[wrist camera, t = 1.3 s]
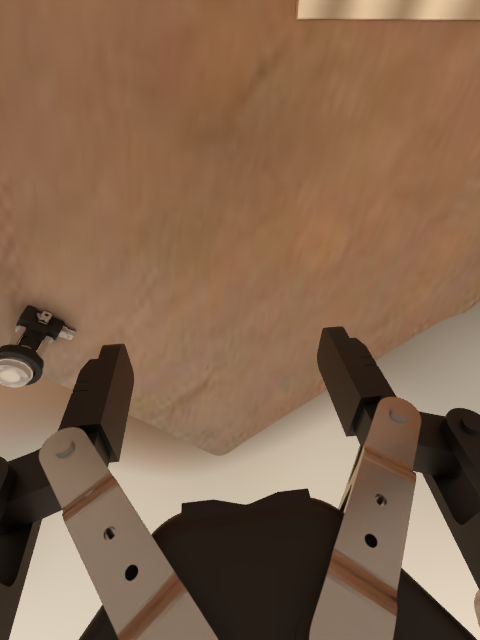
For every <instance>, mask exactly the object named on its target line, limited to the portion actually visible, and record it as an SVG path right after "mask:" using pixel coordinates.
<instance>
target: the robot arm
mask: <svg viewBox="0 0 480 640" xmlns="http://www.w3.org/2000/svg"><path fill="white" fill-rule="evenodd" d="M317 362H318V367H319V370H320V372H321V375H322V377H323V380H324V382H325V385H326V387H327V390H328V392H329V394H330V397H331V400H332V402H333V404H334V407H335V410H336V412H337V415H338V417H339V419H340V422H341V424H342V427H343V429H344V432H345V434H346V436H357V438H358V441H359V443H360V447H359V450H358V453H357V456H356V459H355V462H354V465H353V468H352V471H351V474H350V477H349V480H348V483H347V486H346V489H345V492H344V494H343V497H342V499H341V502H340V505H339V508H338V509H337V508H336V507H334V506H332V505H330V504H328V503H326V502H324V501H321V500H318V499H315V498H310V494H309V491H308V489H300V490H291V491H283V492H277V493H275V494H272V495H270V496H267V497H265V498H263V499H260V500H258V501H255V502H253V503H251V504H247V505H243V504H237V503H231V502H225V501H218V500H207V501H198V502H189V503H182V512H181V513H180V514H177V515H175V516H174V517H172V518H170V519H168V520H167V521H166V522H164V523H163V524H162V525H161V526H159V527H158V528H157V529H156V530H155V531H154V532H153V533H152V535H151V534H150V532H149V531H148V529H147V528H146V526H145V525H144V523H143V522H142V520H141V518H140V517H139V515H138V514H137V512H136V510H135V509H134V507H133V506H132V504H131V503H130V501H129V499H128V498H127V496H126V495H125V493H124V492H123V490H122V488H121V487H120V485H119V484H118V482H117V481H116V479H115V478H114V477H113V476H112V474H111V473H110V471H109V469H108V464H109V463H110V462H119V459H120V453H121V448H122V443H123V438H124V432H125V427H126V421H127V417H128V411H129V406H130V401H131V396H132V390H133V385H134V374H133V369H132V366H131V363H130V359H129V356H128V353H127V350H126V347H125V345H124V344H113V345H103V346H102V349H101V352H100V355H99V358H98V359H91V360H89V361H88V362H87V363H86V364H85V366H84V367H83V368H82V369H81V370H80V373H79V375H78V378H77V381H76V384H75V386H74V389H73V393H72V394H71V397H70V400H69V403H68V405H67V408H66V410H65V413H64V416H63V419H62V421H61V424H60V427H59V429H58V431H57V432H56V433H54V434H53V435H51V436H50V437H49V438H48V439H47V440H46V441H45V443H44V444H43V445H42V447H41V448H40V449H39V450H37V451H35V452H32V453H30V454H27V455H25V456H22V457H20V458H17V459H14V460H12V461H9V462H7V461H6V460H5V459H4V458H2V457H0V640H9V636H10V633H11V629H12V626H13V622H14V618H15V615H16V611H17V608H18V604H19V600H20V596H21V593H22V590H23V586H24V583H25V579H26V575H27V572H28V568H29V564H30V560H31V557H32V554H33V550H34V547H35V543H36V539H37V536H38V532H39V529H40V525H41V521H42V519H43V518H45V517H47V516H49V515H52V514H54V513H56V512H58V511H61V510H63V514H62V516H63V519H64V522H65V524H66V526H67V528H68V531H69V533H70V535H71V537H72V539H73V541H74V543H75V545H76V548H77V550H78V552H79V554H80V556H81V558H82V561H83V563H84V565H85V567H86V569H87V571H88V574H89V576H90V578H91V580H92V582H93V584H94V586H95V588H96V590H97V593H98V595H99V597H100V599H101V602H102V604H103V605H102V606H101V608H100V609H99V611H98V612H97V614H96V615H95V617H94V618H93V620H92V621H91V623H90V624H89V625H88V627H87V628H86V630H85V631H84V633H83V634H82V636H81V637H80V639H79V640H477V639H476V638H475V637H474V636H473V635H472V634H471V633H470V632H469V631H468V630H467V629H466V628H465V627H463V626H462V625H461V624H460V623H459V622H458V621H457V620H456V619H455V618H454V617H453V616H452V615H451V614H450V613H449V612H447V610H445V608H443V607H442V606H441V605H440V604H439V603H438V602H437V601H436V600H435V599H434V598H433V597H432V596H431V595H430V594H428V592H427V591H426V590H424V589H423V588H422V587H421V586H420V585H419V584H418V583H417V582H416V581H415V580H414V579H413V578H412V577H411V576H410V575H409V574H408V573H406V572H405V571H404V570H403V569H402V568H401V565H402V559H403V554H404V548H405V542H406V536H407V530H408V524H409V518H410V512H411V507H412V501H413V495H414V489H415V483H416V473H414V472H413V471H416V472H421V473H422V474H423V476H424V478H425V480H426V482H427V484H428V486H429V488H430V490H431V492H432V494H433V496H434V498H435V500H436V502H437V504H438V506H439V508H440V510H441V512H442V514H443V516H444V519H445V521H446V522H447V525H448V527H449V529H450V531H451V533H452V535H453V537H454V539H455V541H456V543H457V545H458V547H459V549H460V551H461V553H462V555H463V557H464V559H465V561H466V563H467V565H468V567H469V569H470V571H471V574H472V576H473V577H474V580H475V582H476V584H477V586H478V588H479V590H478V592H477V593H476V596H475V600H474V606H475V612H476V615H477V618H478V624H479V626H480V415H479V414H477V413H475V412H473V411H471V410H468V409H464V408H455V409H452V410H450V411H449V412H448V413H447V415H446V416H439V415H434V414H429V413H423V412H419V411H418V410H417V409H416V408H415V407H414V406H413V405H412V404H411V403H409V402H408V401H406V400H404V399H401V398H398V397H396V395H395V394H394V392H393V390H392V389H391V387H390V386H389V384H388V382H387V380H386V379H385V377H384V376H383V374H382V372H381V370H380V369H379V367H378V366H377V364H376V362H375V360H374V359H373V358H372V355H371V354H370V352H369V350H368V349H367V347H366V346H365V345H364V344H363V343H362V342H360V341H359V340H358V339H357V338H349V336H348V334H347V333H346V331H345V329H344V328H343V327H328V328H323V330H322V334H321V339H320V343H319V348H318V353H317Z"/></svg>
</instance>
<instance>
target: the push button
mask: <svg viewBox="0 0 480 640" xmlns="http://www.w3.org/2000/svg"><path fill="white" fill-rule="evenodd" d="M46 314H48V315H49V316H48V315H46ZM51 316H52V314H51V313H49V312H46V311H43V313H41V312H39V311H36V308H34V307H32V306H27V307H26V309H25V310H24V312H23V313H22V314H21V316H20V318H19V320H18V322H17V324H16V326H15V329H16V332H17V333H16V334H15V336H14V337H13V339H12V340H11V342H10V343H9V345H5V346H2V347H1V348H0V384H2V385H5V386H9V387H21V386H24V385H30V384H33V383H35V382H37V381H38V380H39V379H40V377H41V375H42V368H43V360H42V358H41V357H42V355H43V353H44V351H45V349H46V347H47V345H48V344H51V343H54V342H55V340H56V338H57V337H58V336H59V337H64V338H66V339H69V340H72V338H73V335H74V333H75V331H72V330H70V329H67V327H64V326H63V325H64V322H63V321H60V320H58V319H56V318H53V317H51ZM69 331H71V332H72V333H69ZM66 333H67V334H66ZM69 334H70V335H69ZM22 335H23V337H22ZM71 335H72V336H71ZM67 336H70V338H68V337H67ZM21 337H22V339H21V341H20V343H19V344H18V345H16V344H17V343H18V341H19V340H20V338H21ZM42 340H44V341H43V343H42V345H41V347H40V348H39V350H38V352H36V350H37V349H38V347H39V345H40V344H41V342H42ZM34 370H35V371H34Z"/></svg>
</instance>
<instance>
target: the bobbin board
mask: <svg viewBox="0 0 480 640" xmlns="http://www.w3.org/2000/svg"><path fill="white" fill-rule="evenodd" d="M295 19H301V20H454V21H480V0H296V13H295Z"/></svg>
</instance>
